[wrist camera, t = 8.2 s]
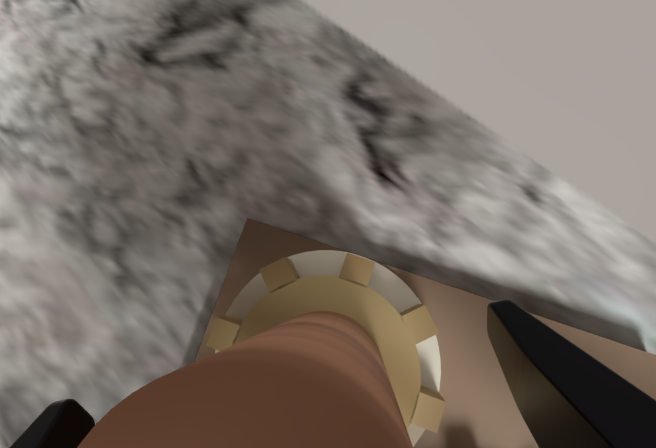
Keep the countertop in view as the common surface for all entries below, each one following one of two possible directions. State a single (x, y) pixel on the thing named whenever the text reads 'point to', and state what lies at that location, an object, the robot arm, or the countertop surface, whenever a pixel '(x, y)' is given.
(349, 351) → the gear spindle
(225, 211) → the countertop surface
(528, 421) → the robot arm
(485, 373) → the gear board
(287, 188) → the countertop surface
